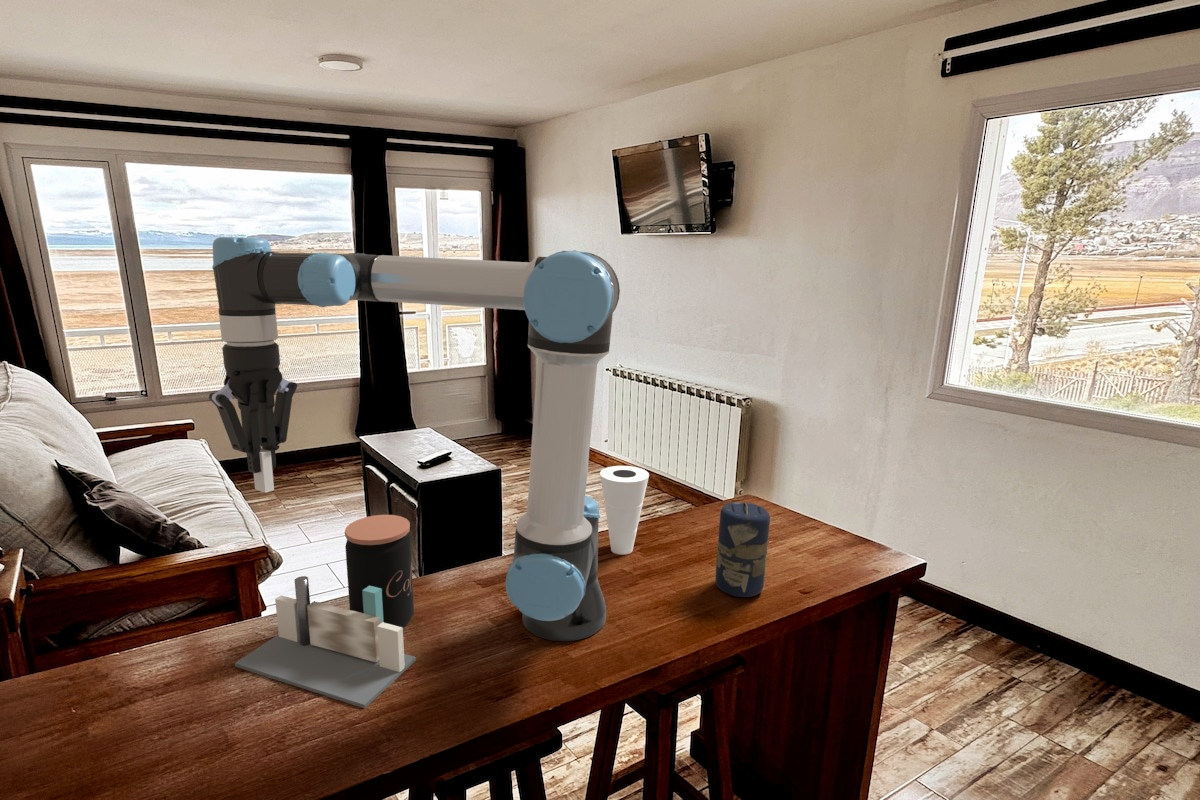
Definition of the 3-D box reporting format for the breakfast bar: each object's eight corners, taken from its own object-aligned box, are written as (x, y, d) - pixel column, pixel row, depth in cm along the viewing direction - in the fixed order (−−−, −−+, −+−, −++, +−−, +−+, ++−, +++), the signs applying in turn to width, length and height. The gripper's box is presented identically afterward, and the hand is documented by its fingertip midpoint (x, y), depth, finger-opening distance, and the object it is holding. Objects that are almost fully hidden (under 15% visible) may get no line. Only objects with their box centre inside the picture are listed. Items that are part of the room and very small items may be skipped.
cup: (646, 561, 137) (650, 482, 133) (597, 560, 137) (599, 481, 133) (644, 540, 147) (647, 466, 143) (598, 538, 147) (600, 465, 143)
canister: (709, 594, 124) (715, 508, 120) (719, 573, 133) (725, 492, 129) (759, 605, 120) (767, 517, 116) (766, 582, 129) (774, 499, 125)
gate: (310, 644, 104) (307, 605, 102) (317, 639, 105) (314, 601, 103) (376, 662, 99) (373, 622, 98) (382, 657, 101) (380, 617, 99)
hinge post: (316, 643, 105) (310, 577, 103) (307, 650, 104) (301, 583, 101) (307, 640, 106) (301, 575, 103) (297, 647, 104) (291, 580, 102)
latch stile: (385, 655, 103) (381, 588, 100) (378, 661, 101) (374, 593, 99) (373, 652, 104) (369, 585, 101) (366, 657, 102) (362, 590, 99)
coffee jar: (395, 642, 106) (390, 543, 102) (338, 633, 108) (330, 536, 104) (424, 609, 116) (421, 517, 112) (372, 601, 119) (366, 511, 115)
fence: (404, 667, 99) (402, 627, 97) (399, 672, 98) (397, 631, 96) (284, 632, 107) (281, 595, 106) (278, 636, 106) (275, 598, 104)
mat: (416, 660, 102) (416, 656, 102) (364, 708, 91) (364, 704, 91) (295, 626, 110) (295, 623, 110) (235, 666, 99) (234, 663, 99)
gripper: (275, 336, 103) (287, 473, 108) (191, 344, 92) (209, 497, 97) (305, 340, 99) (315, 482, 105) (221, 349, 88) (238, 508, 94)
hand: (264, 489), depth 101 cm, fingers closed
